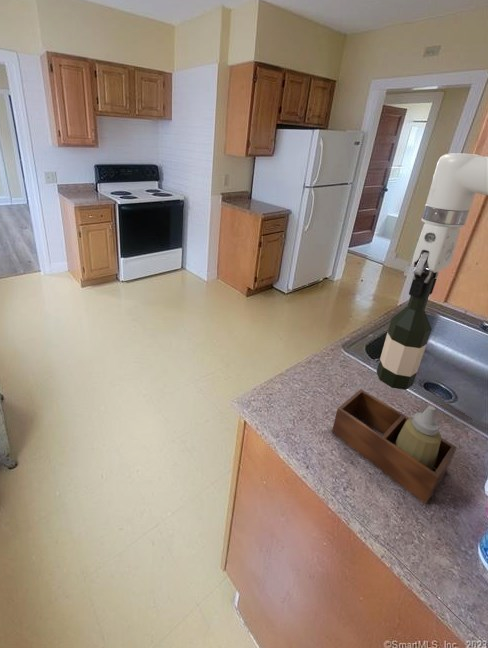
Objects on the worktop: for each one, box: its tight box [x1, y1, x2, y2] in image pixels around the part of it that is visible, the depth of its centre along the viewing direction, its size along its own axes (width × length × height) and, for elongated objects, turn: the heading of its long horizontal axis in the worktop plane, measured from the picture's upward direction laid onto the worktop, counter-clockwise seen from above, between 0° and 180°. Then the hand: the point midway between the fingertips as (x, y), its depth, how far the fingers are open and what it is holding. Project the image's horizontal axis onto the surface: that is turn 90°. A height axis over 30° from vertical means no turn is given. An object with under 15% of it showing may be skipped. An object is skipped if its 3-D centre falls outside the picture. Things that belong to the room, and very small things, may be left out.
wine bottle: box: [376, 271, 435, 391], centre depth 78 cm, size 8×8×30 cm
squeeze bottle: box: [394, 405, 442, 472], centre depth 69 cm, size 8×8×18 cm
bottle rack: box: [331, 388, 458, 504], centre depth 75 cm, size 21×11×8 cm, turn 38°
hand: (420, 293), depth 74 cm, fingers closed on wine bottle, 3 cm apart
